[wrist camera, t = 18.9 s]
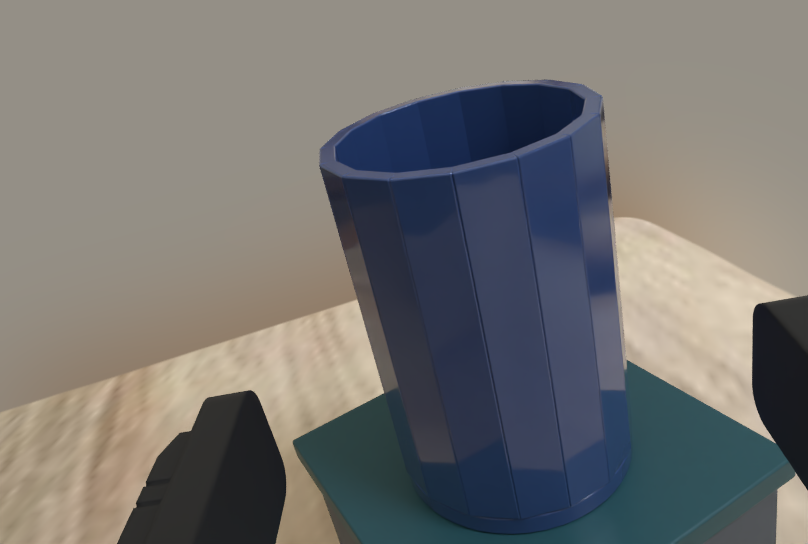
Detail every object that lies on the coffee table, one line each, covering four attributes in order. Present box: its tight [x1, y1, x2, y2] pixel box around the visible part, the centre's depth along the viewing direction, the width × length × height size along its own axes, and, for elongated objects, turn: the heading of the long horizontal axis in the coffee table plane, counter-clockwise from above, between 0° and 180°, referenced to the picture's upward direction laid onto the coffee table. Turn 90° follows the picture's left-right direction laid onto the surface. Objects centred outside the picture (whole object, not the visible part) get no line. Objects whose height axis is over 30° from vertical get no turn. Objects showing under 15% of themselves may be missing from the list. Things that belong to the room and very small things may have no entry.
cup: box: [319, 80, 633, 534], centre depth 19 cm, size 7×7×10 cm
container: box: [293, 360, 795, 544], centre depth 22 cm, size 11×11×6 cm
